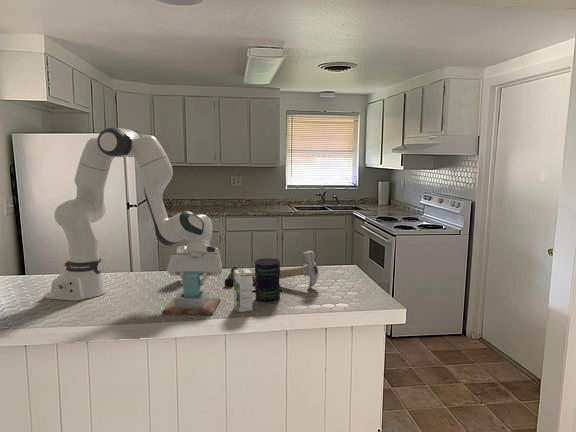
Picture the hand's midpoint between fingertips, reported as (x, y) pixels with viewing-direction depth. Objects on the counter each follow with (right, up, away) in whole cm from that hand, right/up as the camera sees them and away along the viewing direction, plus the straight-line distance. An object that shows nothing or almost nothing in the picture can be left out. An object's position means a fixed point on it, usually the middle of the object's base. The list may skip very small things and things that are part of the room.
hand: (192, 284), depth 162 cm
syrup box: (+19, -9, -1) cm, 21 cm away
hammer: (+34, -5, +27) cm, 43 cm away
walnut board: (0, -9, +1) cm, 9 cm away
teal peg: (0, -5, 0) cm, 5 cm away
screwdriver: (+17, -3, +40) cm, 43 cm away
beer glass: (-11, -4, +36) cm, 38 cm away
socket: (0, -7, +1) cm, 7 cm away
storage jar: (+27, -7, +11) cm, 30 cm away
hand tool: (+10, -4, +35) cm, 37 cm away
